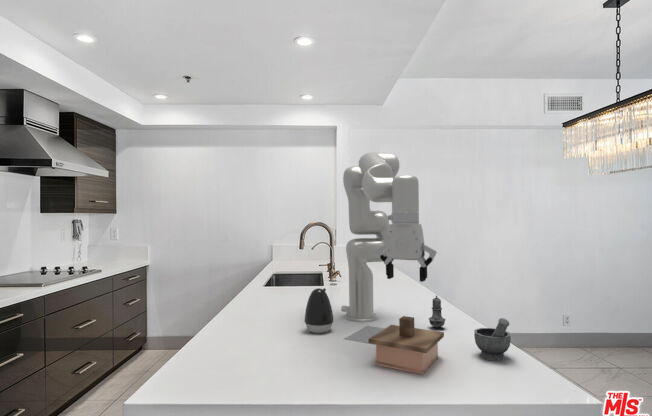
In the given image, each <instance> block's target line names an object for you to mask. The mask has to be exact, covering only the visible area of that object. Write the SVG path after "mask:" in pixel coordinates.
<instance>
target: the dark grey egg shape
mask: <svg viewBox="0 0 652 416" xmlns="http://www.w3.org/2000/svg"><path fill="white" fill-rule="evenodd" d="M326 290H327V289H326V288H323V289H322V288H315V289H313V290H312V291H311V293H310V295H309V297H308V300H307V304H306V306H305V310H304V311H305V313H304V323H305V327H306V329H307V330H308V331H309V332H310V333H312V334H325V333H328V332H329V331H330V330H331V329H332V326H333V323H334V314H333V308H332V304H331V302H330V298H329V295H328V294H327V292H326Z"/></svg>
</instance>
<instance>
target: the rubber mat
mask: <svg viewBox="0 0 652 416" xmlns="http://www.w3.org/2000/svg"><path fill="white" fill-rule="evenodd" d="M385 328H386V327H378V326H372V325H366V326H365V327H363V328H361V329H359V330H357V331H355V332H353V333H352V334H350V335H348V336H346V337H344V338H343V340H345V341H352V342H357V343H363V344H369V345H371V344H370V343H369V338H371V337H372V336H374V335H375V334H377V333H379V332H380V331H382V330H384V329H385ZM373 345H375V346H376V344H373Z"/></svg>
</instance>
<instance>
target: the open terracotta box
mask: <svg viewBox="0 0 652 416" xmlns="http://www.w3.org/2000/svg"><path fill="white" fill-rule="evenodd" d="M438 343H439V342H438ZM438 343H437V344H436V345H435V346H434V347H433V348H431V349H430V350H429V351H428V352H427V353H422V352H416V351H410V350H405V349H399V348H393V347H387V346H381V345H375V356H376V357H375V358H376V359H375V360H376V361H375V363H376V364H375V365H376V366H380V367H386V368H391V369H393V370H394V369H396V370H400V371H405V372H409V373H415V374H419V375H424V374H425V372H426V371H427V370H428V369H429V368H430V367H431V366H432V365H433V364H434V362H436V360H437V359H438V358H439V356H438V355H439V352H438V351H439V349H438V348H439V345H438Z"/></svg>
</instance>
